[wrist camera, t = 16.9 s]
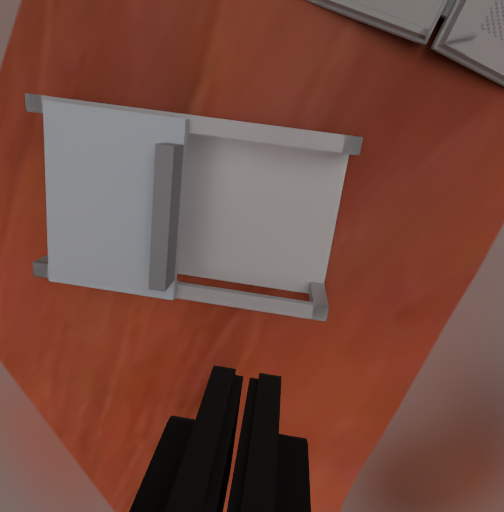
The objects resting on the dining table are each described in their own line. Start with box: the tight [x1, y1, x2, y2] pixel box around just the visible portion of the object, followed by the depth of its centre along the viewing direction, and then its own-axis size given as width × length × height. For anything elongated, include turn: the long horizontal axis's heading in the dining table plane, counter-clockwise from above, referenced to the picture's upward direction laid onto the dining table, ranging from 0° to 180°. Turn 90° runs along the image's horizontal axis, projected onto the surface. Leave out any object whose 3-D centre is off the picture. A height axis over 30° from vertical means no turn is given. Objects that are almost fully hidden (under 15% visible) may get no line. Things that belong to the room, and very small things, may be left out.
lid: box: [43, 100, 189, 300], centre depth 29 cm, size 13×10×3 cm
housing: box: [25, 93, 363, 321], centre depth 33 cm, size 14×24×6 cm, turn 83°
